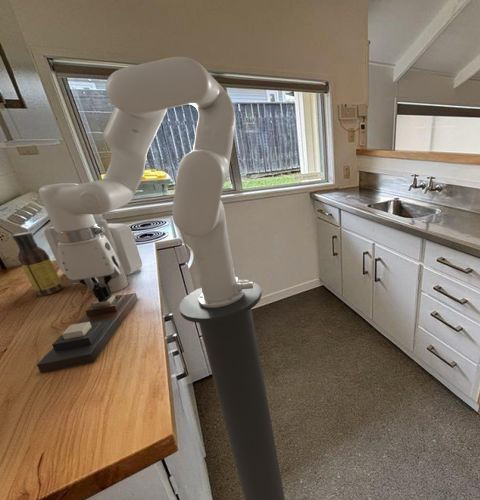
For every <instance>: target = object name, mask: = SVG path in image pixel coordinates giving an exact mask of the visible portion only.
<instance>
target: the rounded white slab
mask: <svg viewBox="0 0 480 500" xmlns="http://www.w3.org/2000/svg"><path fill="white" fill-rule="evenodd" d="M107 224H108V227H109V230H110V233H111V236H112V239H113V242H114V245H115V248H116V251H117V253H118V257H119V260H120V263H121V265H122V268H123V271H124V274H125V276H129V275H131V274H133V273H135V272H137V271H139V270H140V269H142V268H143V262H142V259H141V256H140V251H139V249H138V246H137V242H135V241H136V238H135V239H134V236H135V235H134V236H133V233H134V232H133V230H132V228H131V227H130V226H129V225H128V224H126V223H107ZM43 232H44V236H45V239H46V241H47V243H48V245H49V247H50V250H51V252H52V254H53V257H54V259H55V261H56V262H55V263H56V264H57V266H58V269H60V270H59V271H60V272H62V273H63V274H65V272H64V269H63V266H62V263H61V260H60V256H59V251H58V243H60V241H59V239H58V236H57V234H56V232H55V229H54V227H53V226H49V227H45V229H44V231H43ZM132 232H133V233H132Z"/></svg>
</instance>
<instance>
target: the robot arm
mask: <svg viewBox="0 0 480 500" xmlns="http://www.w3.org/2000/svg"><path fill="white" fill-rule="evenodd" d="M105 92H106V95H107V97H108V99H109V101H110V103H111V104H112V105H113V106H114V108H113V110H112V112H111V114H110V118H109V119H108V122H107V124H106V126H105V128H104V130H103V133H102V137H103V140H104V141H105V142H106V144H107V146H108V148H109V150H110V155H111V156H110V162H109V165H108V167H107V169H106V172H105V174H104V176H103V178H102V179H97V180H93V181H89V182H83V183H79V184H78V183H76V182H65V183H64V182H63V183H53V184H46V185H43V186H41V187H39V189H38V194H39V198H40V199H41V202H42V204H43V206H44V209H45V211H46V214H47V216H48V217H49V220H50V223H51V225H52V227H54V229H55V232H56V234H57V236H58V239H59V241H60V243H58V251H59V256H60V260H61V263H62V266H63V269H64V272H65V273H64V272H63V273H64V275H65V276H66V277H67V278H68V279H69V283H70V284H73V285H74V284H76V285H77V284H78V285H80V284H81V285H84V286H85V287H88V289H90V290H92V293H93V294H94V298H95V299H98V301H99V302H102V301H107V300H108V299H109V298H110V296H111V295H113V292H112V293H111V290H110V287H109V285H108V283H109V281H110V280H111V279H113V278H116V277H119V276H120V275H121V271H120V270H119V269H118V268H119V267H120V263H119V260H118V258H117V256H116V254H115V252H114V250H113V248H112V246H111V244H110V243H109V241H108V240H107V238H106V237H105V236H104V235H102V236H100V234H101V233H104V232H105V229H104V228H103V227H102V228H100V227H98V225H96V223H95V220H94V217H93V215H92V214H101V215H105V214H108V213H111V212H113V211H115V210H118V209H119V208H122V207H125V206H126V205H128V204H129V203H130V202H131V201H132V200H133V198H134V196H135V194H136V193H137V190H138V188H139V186H140V184H141V182H142V180H143V177H144V174H145V168H146V165H147V156H148V155H147V154H148V153H149V150H150V148H151V146H152V144H153V142H154V139H155V137H156V134H157V133H158V130H159V128H160V127H161V124H162V123H163V120H164V118H165V117H166V113H167V112H168V110H169V109H173V108H178V107H182V106H185V105H191V106H193V107H194V108H195V109H196V110H197V112H198V113H197V114H198V119H197V123H196V127H195V134H194V135H195V136H194V141H193V148H192V150H191V151H189V152H188V153H186V154H184V156H183V157H182V158H181V160H180V162H179V164H178V167H177V173H176V179H175V186H174V193H173V200H172V201H173V202H172V210H171V214H172V221H173V223H174V225H175V227H176V228H177V229H178V230H179V231H180V232H181V233H182V234H184V235H186V236H189V240H190V246H191V250H192V254H193V259H194V263H195V267H196V271H197V276H198V279H199V284H200V288H202V292H203V293H202V294H201V295H200V296H199V297H198V301H199V304H200V305H201V306H203V307H207V308H217V307H223V306H227V305H230V304H232V303H234V302H236V301H238V300H239V299H240V298H241V297H242V296H243V295H244V289H251V288H253V282H254V281H252V282H249V281H250V280H249V279H244V280H245V281H238V280H239V277H238V276H236V272H235V267H234V262H233V256H232V251H231V245H230V239H229V234H228V226H227V218H226V210H225V207H224V203H223V201H222V200H221V198H222V193H223V188H224V184H225V183H226V182H227V180H228V178H229V173H230V166H231V165H230V164H231V158H232V152H233V147H234V146H233V144H234V138H235V131H236V122H237V121H236V111H235V110H236V109H235V107H234V104H233V101H232V99H231V97H230V96H229V94H228V93H227V91H226V90H225V88H223V86H222V85H221V83H219V82H218V81H217V80H216V79H215V78H214V77H213V76H212V74H211V73H210V72H209V71H208V70H207V69H206V68H205V66H203V65H202V64H201V63H199V62H198V61H197V60H196V59H193V58H190V57H187V56H171V57H165V58H162V59H158V60H154V61H150V62H149V61H148V62H145V63H140V64H135V65H130V66H126V67H122V68H120V69H117V70H115V71H114V72H112V73H111V74H110V75H109V76H108V78H107V80H106V83H105ZM96 277H98V280H97V278H96Z"/></svg>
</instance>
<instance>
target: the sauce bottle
mask: <svg viewBox="0 0 480 500" xmlns="http://www.w3.org/2000/svg"><path fill="white" fill-rule="evenodd" d="M11 237H12V238H13V241H15V242H16V245H17V246H18V249H19V252H18V256H17V258H18V261H19V262H20V265H21V267H22V269H23V271H24V273H25V275H26V277H27V278H28V281H29V282H30V285H31V286H32V288H33V290H34V291H35V293H36V294H37V295H38V296H47V295H51V294H55V293H56V292H59V291H60V290H62V289H63V284H62V281H61V278H60V277H59V274H58V273H57V271H56V268H55V266H54V264H53V263H52V260H51V259H50V256H49V254H48V253H47V251H45V249H43V248H42V247H39V246H38V244H37V242H36V240H35V238H34V234H33V233H32V231H24V232H18V233H15V234H12V235H11Z"/></svg>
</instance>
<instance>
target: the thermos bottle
mask: <svg viewBox="0 0 480 500" xmlns="http://www.w3.org/2000/svg"><path fill="white" fill-rule="evenodd" d="M92 215H93V217H94V220H95V223H96V225H98V227H100V228H102V227H103V228H104V229H105V232H104V233H101V234H100V236H102V235H104V236H105V237H106V238H107V240H108V241H109V243H110V244H111V246H112V248H113V250H114V252H115V254H116V256H117V258H118V260H119V257H118V253H117V251H116V248H115V245H114V242H113V239H112V236H111V233H110V230H109V227H108V224H109V223H108V221H107V220H106V219H103V214H92ZM119 263H120V260H119ZM118 269H119V270H120V271H121V275H120V276H119V277H116V278H113V279H111V280H110V281H109V283H108V285H109V287H110V290H111V293H112V294H113V293H115V292H119V291H121V290H124V289H125V288H126V287H128V285H129V283H128V280H127V277H126V275H125V274H124V271H123V268H122V265H121V263H120V267H119V268H118ZM96 278H97V280H98V277H96Z"/></svg>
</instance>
